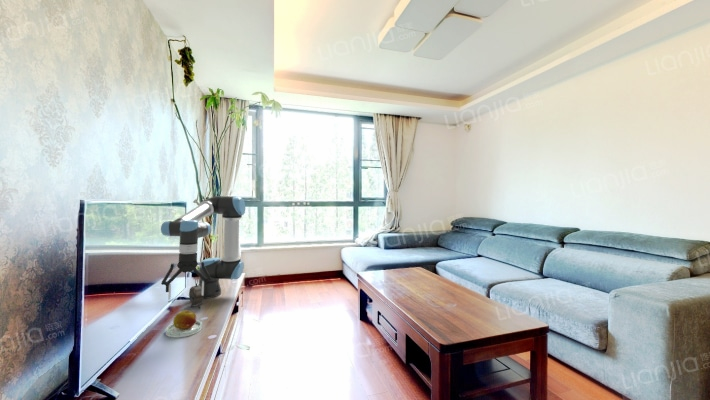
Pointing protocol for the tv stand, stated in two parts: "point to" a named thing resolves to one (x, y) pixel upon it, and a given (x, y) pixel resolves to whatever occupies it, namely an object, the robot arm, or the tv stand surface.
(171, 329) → the dish
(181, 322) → the fruit
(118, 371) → the tv stand surface
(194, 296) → the alarm clock
